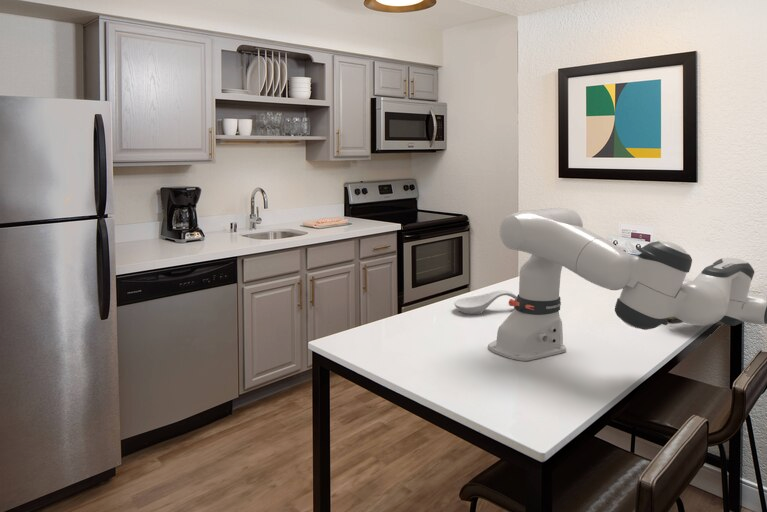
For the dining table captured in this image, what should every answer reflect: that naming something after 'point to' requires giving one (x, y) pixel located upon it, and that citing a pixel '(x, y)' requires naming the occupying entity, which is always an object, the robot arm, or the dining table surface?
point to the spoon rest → (480, 302)
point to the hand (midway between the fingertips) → (672, 289)
